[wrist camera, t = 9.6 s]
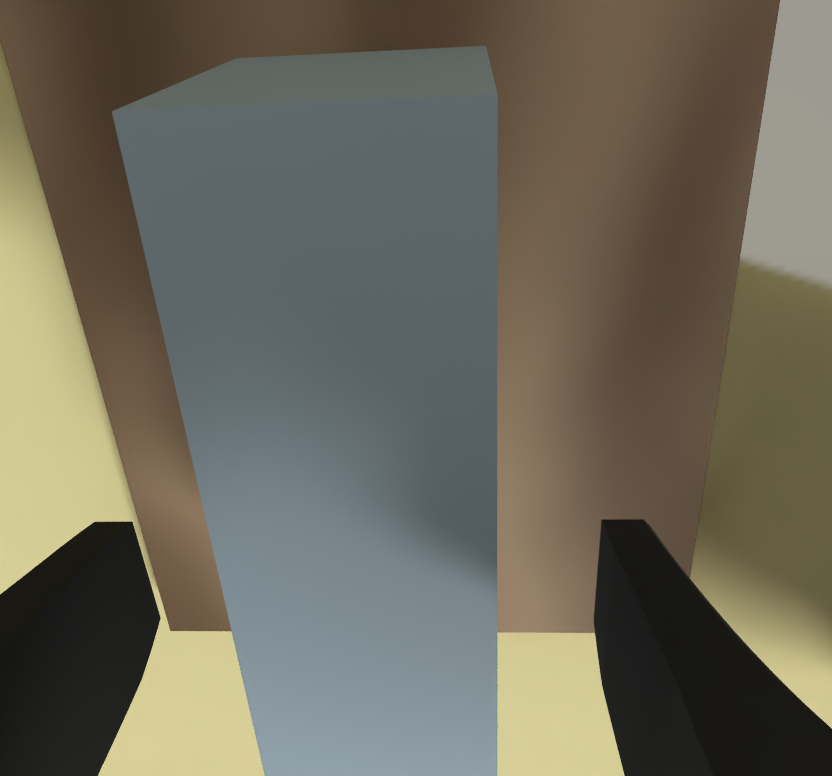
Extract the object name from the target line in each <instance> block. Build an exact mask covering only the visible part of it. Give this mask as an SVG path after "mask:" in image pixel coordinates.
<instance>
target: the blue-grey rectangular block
mask: <svg viewBox="0 0 832 776" xmlns="http://www.w3.org/2000/svg"><path fill="white" fill-rule="evenodd" d="M112 115H113V119H114V123H115V128H116V132H117V136H118V141H119V145H120V149H121V154H122V158H123V162H124V167H125V171H126V175H127V180H128V184H129V188H130V193H131V197H132V201H133V206H134V210H135V214H136V219H137V223H138V227H139V232H140V236H141V240H142V245H143V249H144V253H145V258H146V262H147V266H148V271H149V275H150V279H151V284H152V288H153V293H154V297H155V301H156V306H157V310H158V314H159V319H160V323H161V327H162V332H163V336H164V340H165V345H166V349H167V353H168V358H169V362H170V366H171V371H172V375H173V379H174V384H175V388H176V392H177V397H178V401H179V405H180V410H181V414H182V418H183V423H184V427H185V431H186V436H187V440H188V444H189V449H190V453H191V457H192V462H193V466H194V470H195V475H196V479H197V483H198V488H199V492H200V496H201V501H202V505H203V509H204V514H205V518H206V522H207V527H208V531H209V535H210V540H211V544H212V548H213V553H214V557H215V561H216V566H217V570H218V574H219V579H220V583H221V587H222V592H223V596H224V600H225V605H226V609H227V613H228V618H229V622H230V626H231V631H232V635H233V639H234V644H235V648H236V652H237V657H238V661H239V665H240V670H241V674H242V678H243V683H244V687H245V691H246V696H247V700H248V704H249V709H250V713H251V717H252V722H253V726H254V730H255V735H256V739H257V743H258V748H259V752H260V756H261V761H262V765H263V769H264V774H265V776H497V256H498V94H497V89H496V85H495V81H494V77H493V73H492V68H491V64H490V60H489V56H488V52H487V47H486V46H472V47H451V48H431V49H411V50H391V51H371V52H351V53H330V54H310V55H290V56H270V57H250V58H236V59H233V60H231V61H229V62H226V63H224V64H222V65H219V66H217V67H215V68H212V69H210V70H208V71H205V72H203V73H201V74H198V75H196V76H194V77H191V78H189V79H187V80H184V81H182V82H180V83H177V84H175V85H173V86H170V87H168V88H165V89H163V90H161V91H158V92H156V93H154V94H151V95H149V96H147V97H144V98H142V99H140V100H137V101H135V102H133V103H130V104H128V105H126V106H123V107H121V108H119V109H116V110H114V111H112Z"/></svg>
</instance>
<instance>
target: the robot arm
mask: <svg viewBox="0 0 832 776" xmlns="http://www.w3.org/2000/svg"><path fill="white" fill-rule="evenodd" d="M159 622H160V615H159V611H158V608H157V604H156V601H155V598H154V594H153V591H152V587H151V584H150V580H149V577H148V574H147V570H146V567H145V563H144V560H143V557H142V553H141V550H140V546H139V543H138V539H137V536H136V533H135V529H134V526H133V522H94V523H93V524H91V525H90V526H88V527H87V528H86V529H84V530H83V531H81V532H80V533H79V534H77V535H76V536H75V537H73V538H72V539H71V540H69V541H68V542H67V543H65V544H64V545H63V546H62V547H60V548H59V549H58V550H56V551H55V552H54V553H53V554H51V555H50V556H49V557H48V558H46V559H45V560H44V561H43V562H41V563H40V564H39V565H37V566H36V567H35V568H34V569H32V570H31V571H30V572H29V573H27V574H26V575H25V576H24V577H22V578H21V579H20V580H18V581H17V582H16V583H14V584H13V585H12V586H11V587H9V588H8V589H7V590H5V591H4V592H3V593H2V594H0V776H98V774H99V772H100V769H101V767H102V765H103V763H104V761H105V759H106V757H107V754H108V752H109V750H110V748H111V746H112V744H113V742H114V739H115V737H116V735H117V733H118V731H119V729H120V726H121V724H122V722H123V720H124V718H125V715H126V713H127V711H128V709H129V707H130V704H131V702H132V700H133V698H134V696H135V693H136V691H137V689H138V687H139V684H140V682H141V680H142V677H143V674H144V671H145V668H146V665H147V661H148V658H149V655H150V652H151V649H152V646H153V642H154V639H155V635H156V632H157V629H158V625H159ZM594 628H595V636H596V644H597V651H598V659H599V666H600V673H601V680H602V686H603V690H604V695H605V699H606V703H607V707H608V711H609V715H610V719H611V723H612V727H613V731H614V735H615V739H616V743H617V747H618V751H619V755H620V759H621V763H622V767H623V771H624V774H625V776H832V729H831V728H830V727H829V726H828V725H827V724H826V723H825V722H824V721H823V720H822V719H820V718H819V717H818V716H817V715H816V714H815V713H814V712H813V711H812V710H811V709H809V708H808V707H807V706H806V705H805V704H804V703H803V702H802V701H801V700H800V699H799V698H798V697H797V696H796V695H795V694H794V693H793V692H792V691H791V690H790V689H789V688H788V687H787V686H786V685H785V684H784V683H783V682H782V681H781V680H780V679H779V678H778V677H777V676H776V675H775V674H774V673H773V672H772V671H771V670H770V669H769V668H768V667H767V666H766V665H765V664H764V663H763V662H762V661H761V660H760V659H759V658H758V657H757V656H756V654H755V653H754V652H753V651H752V650H751V649H750V648H749V647H748V646H747V645H746V644H745V643H744V642H743V640H742V639H741V638H740V637H739V636H738V635H737V634H736V633H735V632H734V631H733V629H732V628H731V627H730V626H729V625H728V624H727V622H726V621H725V620H724V619H723V618H722V617H721V615H720V614H719V613H718V612H717V611H716V610H715V608H714V607H713V606H712V605H711V604H710V603H709V601H708V600H707V599H706V598H705V597H704V595H703V594H702V593H701V592H700V591H699V589H698V588H697V587H696V586H695V584H694V583H693V582H692V581H691V579H690V578H689V577H688V576H687V574H686V573H685V572H684V571H683V569H682V568H681V567H680V565H679V564H678V563H677V562H676V560H675V559H674V558H673V556H672V555H671V554H670V552H669V551H668V550H667V548H666V547H665V546H664V544H663V543H662V541H661V540H660V539H659V537H658V536H657V535H656V533H655V532H654V530H653V529H652V528H651V526H650V525H649V524H648V523H647V522H646V521H645V520H644V519H601V532H600V544H599V557H598V570H597V583H596V595H595V608H594Z"/></svg>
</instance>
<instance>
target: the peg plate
mask: <svg viewBox="0 0 832 776" xmlns="http://www.w3.org/2000/svg"><path fill="white" fill-rule="evenodd" d="M779 3H780V0H0V40H1V44H2V47H3V51H4V54H5V58H6V61H7V65H8V68H9V72H10V75H11V79H12V82H13V85H14V89H15V92H16V96H17V99H18V103H19V106H20V110H21V113H22V117H23V120H24V124H25V127H26V131H27V134H28V138H29V141H30V145H31V148H32V151H33V155H34V158H35V162H36V165H37V169H38V172H39V176H40V179H41V183H42V186H43V190H44V193H45V197H46V200H47V204H48V207H49V211H50V214H51V217H52V221H53V224H54V228H55V231H56V235H57V238H58V242H59V245H60V249H61V252H62V256H63V259H64V263H65V266H66V270H67V273H68V276H69V280H70V283H71V287H72V290H73V294H74V297H75V301H76V304H77V308H78V311H79V315H80V318H81V322H82V325H83V329H84V332H85V336H86V339H87V342H88V346H89V349H90V353H91V356H92V360H93V363H94V367H95V370H96V374H97V377H98V381H99V384H100V388H101V391H102V395H103V398H104V402H105V405H106V408H107V412H108V415H109V419H110V422H111V426H112V429H113V433H114V436H115V440H116V443H117V447H118V450H119V454H120V457H121V461H122V464H123V467H124V471H125V474H126V478H127V481H128V485H129V488H130V492H131V495H132V499H133V502H134V506H135V509H136V513H137V516H138V520H139V523H140V527H141V530H142V533H143V537H144V540H145V544H146V547H147V551H148V554H149V558H150V561H151V565H152V568H153V572H154V575H155V579H156V582H157V586H158V589H159V593H160V596H161V599H162V603H163V606H164V610H165V613H166V617H167V620H168V624H169V627H170V631H231V626H230V622H229V618H228V613H227V609H226V605H225V600H224V596H223V592H222V587H221V583H220V579H219V574H218V570H217V566H216V561H215V557H214V553H213V548H212V544H211V540H210V535H209V531H208V527H207V522H206V518H205V514H204V509H203V505H202V501H201V496H200V492H199V488H198V483H197V479H196V475H195V470H194V466H193V462H192V457H191V453H190V449H189V444H188V440H187V436H186V431H185V427H184V423H183V418H182V414H181V410H180V405H179V401H178V397H177V392H176V388H175V384H174V379H173V375H172V371H171V366H170V362H169V358H168V353H167V349H166V345H165V340H164V336H163V332H162V327H161V323H160V319H159V314H158V310H157V306H156V301H155V297H154V293H153V288H152V284H151V279H150V275H149V271H148V266H147V262H146V258H145V253H144V249H143V245H142V240H141V236H140V232H139V227H138V223H137V219H136V214H135V210H134V206H133V201H132V197H131V193H130V188H129V184H128V180H127V175H126V171H125V167H124V162H123V158H122V154H121V149H120V145H119V141H118V136H117V132H116V128H115V123H114V119H113V115H112V111H114V110H116V109H119V108H121V107H123V106H126V105H128V104H130V103H133V102H135V101H137V100H140V99H142V98H144V97H147V96H149V95H151V94H154V93H156V92H158V91H161V90H163V89H165V88H168V87H170V86H173V85H175V84H177V83H180V82H182V81H184V80H187V79H189V78H191V77H194V76H196V75H198V74H201V73H203V72H205V71H208V70H210V69H212V68H215V67H217V66H219V65H222V64H224V63H226V62H229V61H231V60H233V59H236V58H250V57H270V56H290V55H310V54H330V53H351V52H371V51H391V50H411V49H431V48H451V47H472V46H486V47H487V52H488V56H489V60H490V64H491V68H492V73H493V77H494V81H495V85H496V89H497V94H498V256H497V632H550V633H595V628H594V608H595V595H596V583H597V570H598V557H599V544H600V532H601V519H644V520H645V521H646V522H647V523H648V524H649V525H650V526H651V528H652V529H653V530H654V532H655V533H656V535H657V536H658V537H659V539H660V540H661V541H662V543H663V544H664V546H665V547H666V548H667V550H668V551H669V552H670V554H671V555H672V556H673V558H674V559H675V560H676V562H677V563H678V564H679V565H680V567H681V568H682V569H683V571H684V572H685V573H686V574H687V576H688V577H689V578H690V573H691V566H692V560H693V554H694V547H695V541H696V534H697V528H698V522H699V515H700V509H701V502H702V496H703V490H704V483H705V477H706V470H707V464H708V458H709V451H710V445H711V438H712V432H713V426H714V419H715V413H716V406H717V400H718V394H719V387H720V381H721V374H722V368H723V362H724V355H725V349H726V342H727V336H728V330H729V323H730V317H731V310H732V304H733V298H734V291H735V285H736V278H737V272H738V266H739V259H740V253H741V246H742V240H743V234H744V227H745V221H746V214H747V208H748V202H749V195H750V188H751V182H752V176H753V169H754V162H755V157H756V150H757V144H758V138H759V131H760V125H761V118H762V112H763V106H764V99H765V93H766V87H767V80H768V74H769V67H770V61H771V55H772V48H773V42H774V35H775V29H776V23H777V16H778V9H779Z"/></svg>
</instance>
